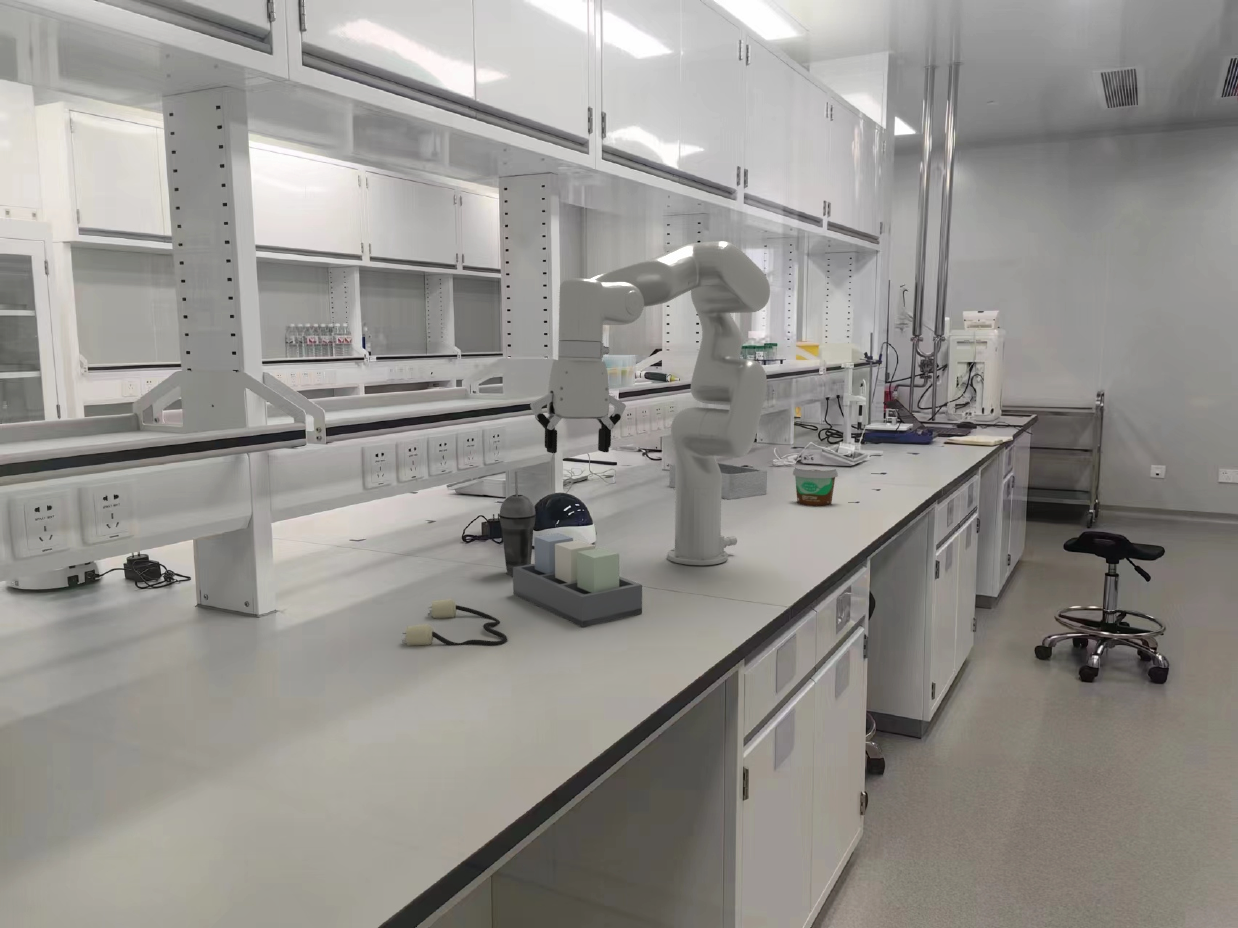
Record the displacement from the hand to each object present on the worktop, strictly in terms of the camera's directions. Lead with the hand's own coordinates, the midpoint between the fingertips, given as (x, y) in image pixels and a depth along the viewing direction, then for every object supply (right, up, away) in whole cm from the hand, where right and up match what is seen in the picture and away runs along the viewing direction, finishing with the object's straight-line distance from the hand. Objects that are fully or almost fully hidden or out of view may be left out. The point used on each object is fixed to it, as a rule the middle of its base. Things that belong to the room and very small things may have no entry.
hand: (577, 452), depth 152 cm
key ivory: (0, -22, 0) cm, 22 cm away
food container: (+61, -14, +92) cm, 111 cm away
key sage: (+4, -23, -6) cm, 24 cm away
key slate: (-5, -21, +5) cm, 22 cm away
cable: (-18, -29, -13) cm, 36 cm away
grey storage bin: (+37, -10, +115) cm, 121 cm away
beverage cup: (-13, -24, +21) cm, 34 cm away
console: (0, -26, +1) cm, 26 cm away
